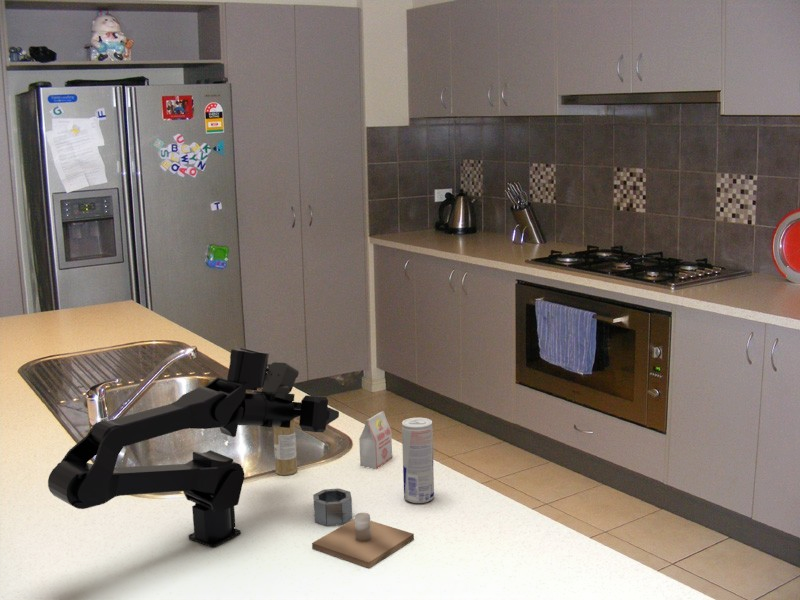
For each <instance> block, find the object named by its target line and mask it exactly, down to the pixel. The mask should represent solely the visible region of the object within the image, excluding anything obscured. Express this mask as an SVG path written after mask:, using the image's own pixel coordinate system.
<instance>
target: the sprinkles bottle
mask: <svg viewBox="0 0 800 600" xmlns="http://www.w3.org/2000/svg"><path fill="white" fill-rule="evenodd" d="M295 419H296V418H293V419H292V421H290V428H284V427H274V426H273V448H274V449H273V450H274V451H273V452H274V458H275V459H274V462H275V470H274V472H275V473H276V475H280V476H289V475H293V474H295V473H297V472H298V467H297V466H298V465H297V440H296V439H297V438H296V428H295V427H296V425H295Z"/></svg>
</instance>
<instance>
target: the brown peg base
mask: <svg viewBox="0 0 800 600" xmlns="http://www.w3.org/2000/svg"><path fill="white" fill-rule="evenodd" d="M413 540H415V534H414V533H412V532H410V531H406V530H402V529H399V528H396V527H393V526H390V525H387V524H382V523H380V522H376V521H374V520H371V515H370V514H369V513H367V512H358V513H356V514H354V518H353V519H352V520H350V521H348V522H346V523H345V524H343V525H340V526H339V527H337V528H336V529H335V530H332V531H331V532H329V533H327V534H325V535H324V536H322V537H320V538H318V539H317V540H315V541H313V542H312V543H311V548H312V549H313V550H315V551H319V552H321V553H323V554H327V555H330V556H333V557H336V558H338V559H342V560H343V561H347V562H350V563H353V564H355V565H358V566H362V567H364V568H367V569H370V568H372V567H373V566H375V565H376V564H378V563H379V562H381V561H383V560H384V559H386V558H387V557H389V556H390V555H391V554H394V553H395V552H396V551H398V550H399V549H401V548H403V547H404V546H406V545H408V544H409V543H410V542H412V541H413Z"/></svg>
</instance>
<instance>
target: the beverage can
mask: <svg viewBox="0 0 800 600" xmlns="http://www.w3.org/2000/svg"><path fill="white" fill-rule="evenodd" d="M433 431H434V430H433V421H432V419H429V418H426V417H411V418H406V419H404V420H402V422H401V439H402V440H401V441H402V442H401V443H402V445H401V446H402V474H403V475H402V476H403V477H402V478H403V498H404V499H405V500H406V501H407V502H410V503H414V504H425V503H428V502H430V501H432V500H433V499H434V498H435V482H434V481H435V477H434V476H435V475H434V474H435V473H434V434H433Z"/></svg>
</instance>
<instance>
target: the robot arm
mask: <svg viewBox="0 0 800 600" xmlns="http://www.w3.org/2000/svg"><path fill="white" fill-rule="evenodd" d="M269 358H270V352H268V351H263V350H258V349H253V348H247V347H246V348H245V347H240V348H236V349H234V348H232V349H231V350H230V356H229V365H228V366H229V368H228V370H227V371H228V373H227V378H224V377H220V376H217V377H216V378H214V379H213V380H212V381H210V382H209V383H207V384H206V385H204V386H201V387H200V386H199V387H197V388H195V389H193V390H191V391H188V392H186V393H184V394H182V395H181V396H180V397H179V398H178V399H177V400H175V401H173V402H172V403H168V404H165V405H161V406H158V407H154V408H150V409H145V410H143V411H139V412H135V413H132V414H128V415H125V416H120V417H117V418H113V419H109V420H106V419H105V420H99V421H98V422H95V424H94V425H93V426H92V427H91V428H90V430H89V431H88V433H87V434H86V435H85V436H84V437H83V438H82V439H81V440H80V441H79V442H77V443H76V444H75V445H74V446H72V447H71V448H70V449H69V450H68V451H67V452H66V454H65V455H64V457H62V458H63V459H61V461H60V462H58V463H57V464H56V466H55V467H54V468H53V469H52V470H51V472H50V474H49V476H48V480H47V486H48V490H49V492H50V493H51V495H53V496H54V497H56V498H58V500H61V501H63V502H65V503H67V504H68V505H69V506H72V507H73V508H76V509H78V510H86V509H90V508H92V507H98V506H100V505H101V506H102V505H105V504H107V503H108V502H109V501H111V500H113V499H114V498H116V497H120V496H121V497H122V496H134V495H147V494H148V495H149V494H160V493H173V492H183V494H184V497H185V498H186V499H185V500H187V501H189V502H190V501H191V502H192V503H195V504H194V505H192V506H191V509H192V522H193V523H192V524H193V532H191V533H189V534H188V539H190V540H192V541H195V542H198V543H200V544H203V545H206V546H208V547H211V548H215V547H217V546H219V545H221V544H223V543H225V542H227V541H229V540H231V539H233V538H235V537H237V536H239V535H240V534H241V533H242V532H241V529H238V528H236V514H235V513H236V512H235V506H238V505H239V501H240V497H241V493H242V489H243V484H244V480H245V470H244V468H243V466H242V465H241V464H240V463H238V462H236V461H234V458H231V457H230V456H229V457H228V456H227V455H223V454H221V453H219V452H215V451H214V450H208V451H205V452H199V451H192V459H191V460H190V461H188V462H186V463H180V464H179V463H178V464H177V463H176V464H161V465H159V464H158V465H141V466H140V465H139V466H138V465H137V466H123V467H122V466H120V467H116V464H117V461H118V457H119V454H120V453H121V452H122V450H123V448H124V447H128V446H131V445H134V444H137V443H141V442H143V441H148V440H151V439H155V438H158V437H163V436H165V435H169V434H171V433H174V432H175V433H176V432H179V431H181V430H187V429H195V430H197V429H198V430H206V429H218V428H219V430H220V432H221V434H224V435H226V436H229V437H231V438H235V437H236V436H237V431H238V427H239V426H246V427H247V426H249V427H251V426H252V427H263V428H264V427H265V428H274V427H284V428H290V421H292V419H293V418H295V419H296V418H299V424H298V425H299V427H300V429H301V430H302V432H303V431H304V432H311V433H324V432H325V431H326V429H327V426H328V425H329V424H331V423H332V422H334V421H335V420H337V419H338V418H339V417H340V412H339V410H336V409H334V408H331V407H329V406H328V405H329V399H328V398H327V396H318V395H305V396H303V398H302V399H301V401H295V393H291V392H292V389H293V387H294V385H295V382H296V380H297V379H298V376H299V370H298V369H296V368H294V366H291V365H290V364H288V363H286V362H272V363H269ZM258 389H261V391H260V390H258ZM247 390H248V391H253V392H247ZM94 457H95V459H94V462H93V463H89V462H90V461H91V460H92V459H93V458H94Z"/></svg>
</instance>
